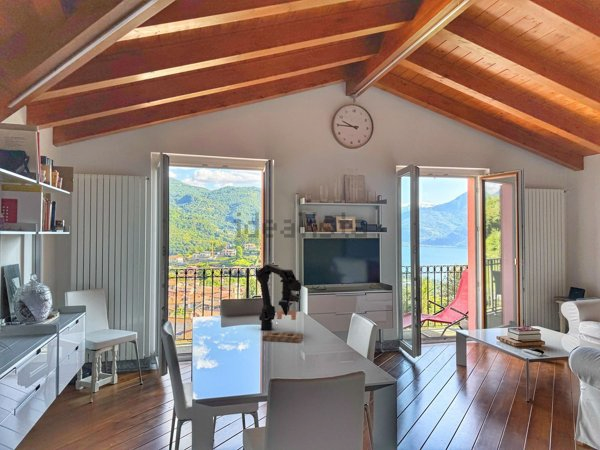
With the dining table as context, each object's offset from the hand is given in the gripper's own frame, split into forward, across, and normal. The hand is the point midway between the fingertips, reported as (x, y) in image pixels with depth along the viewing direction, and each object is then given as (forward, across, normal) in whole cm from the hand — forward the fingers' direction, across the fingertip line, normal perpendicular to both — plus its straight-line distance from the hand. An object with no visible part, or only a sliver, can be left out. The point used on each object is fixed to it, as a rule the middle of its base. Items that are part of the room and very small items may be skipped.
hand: (286, 315), depth 252 cm
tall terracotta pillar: (+2, 0, 0) cm, 2 cm away
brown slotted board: (+12, -13, -1) cm, 18 cm away
